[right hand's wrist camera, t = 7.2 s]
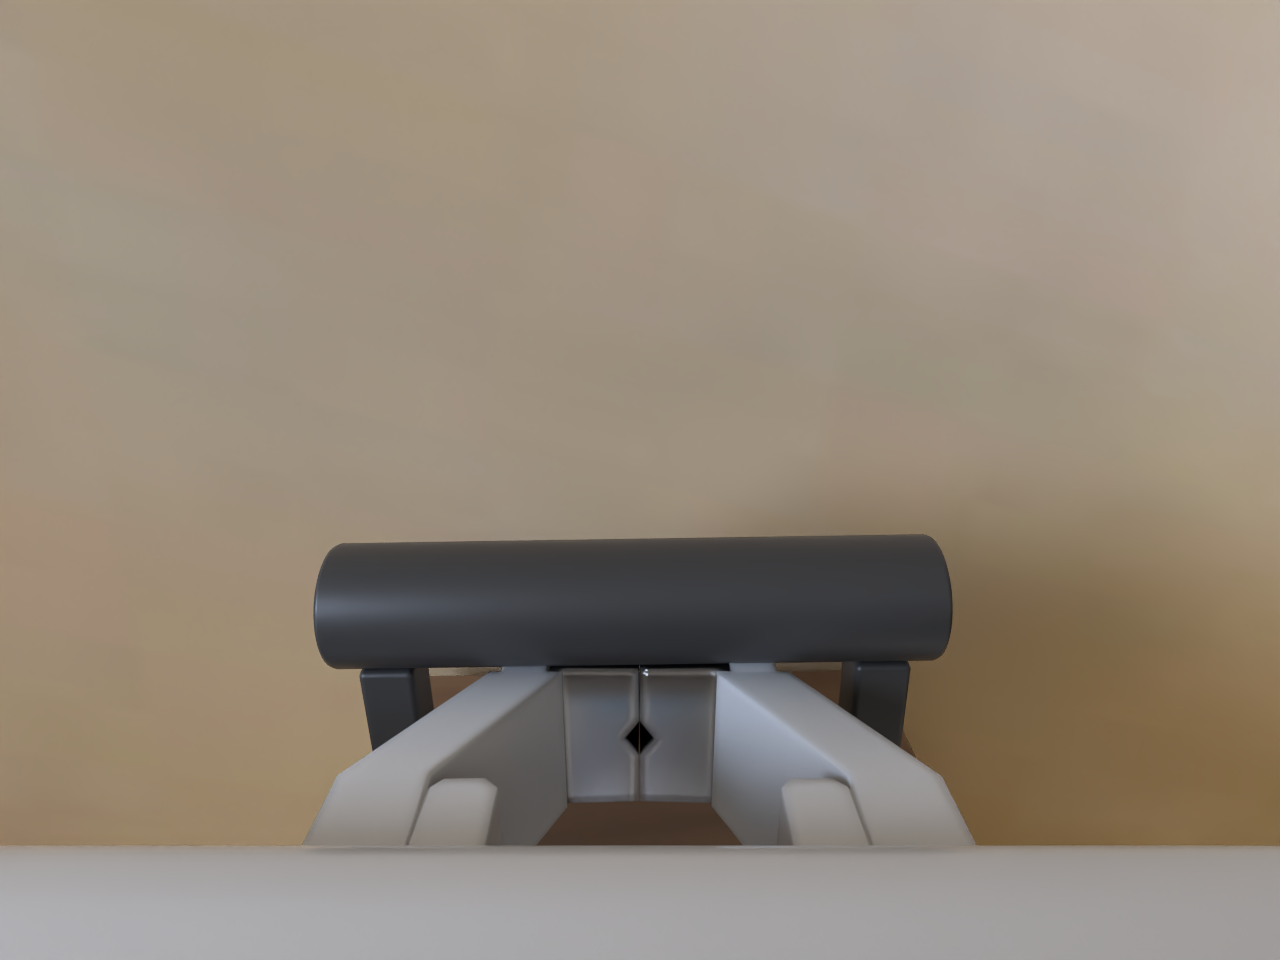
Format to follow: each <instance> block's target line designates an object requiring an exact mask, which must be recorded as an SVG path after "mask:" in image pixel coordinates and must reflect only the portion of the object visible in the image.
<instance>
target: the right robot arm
mask: <svg viewBox="0 0 1280 960" xmlns="http://www.w3.org/2000/svg"><path fill="white" fill-rule="evenodd" d="M623 801H639V665H582V666H513V667H502V671H500V672H489V673H487V674H486V675H484V676H483V677H481V678H480V679H478V680H477V681H476V682H474V683H473V684H471V685H470V686H468V687H467V688H465V689H464V690H462V691H461V692H459V693H458V694H456V695H455V696H453V697H452V698H450V699H449V700H448V701H446V702H445V703H443V704H442V705H440V706H439V707H437V708H436V709H434V710H433V711H431V712H430V713H428V714H427V715H425V716H424V717H422V718H421V719H420V720H418V721H417V722H415V723H414V724H412V725H411V726H409V727H408V728H406V729H405V730H403V731H402V732H400V733H399V734H397V735H396V736H394V737H393V738H392V739H390V740H389V741H387V742H386V743H384V744H383V745H381V746H380V747H378V748H377V749H375V750H374V751H372V752H371V753H369V754H368V755H366V756H365V757H364V758H362V759H361V760H359V761H358V762H356V763H355V764H353V765H352V766H350V767H349V768H347V769H346V770H344V771H343V772H341V773H340V774H338V775H337V777H336V779H335V781H334V783H333V785H332V787H331V789H330V791H329V793H328V795H327V797H326V799H325V801H324V803H323V805H322V807H321V809H320V811H319V812H318V814H317V816H316V818H315V820H314V822H313V824H312V826H311V828H310V830H309V832H308V834H307V836H306V838H305V840H304V842H303V844H302V845H6V846H0V960H1280V845H976V843H975V841H974V839H973V837H972V835H971V833H970V831H969V829H968V827H967V825H966V823H965V821H964V819H963V817H962V815H961V813H960V811H959V809H958V807H957V805H956V803H955V801H954V799H953V797H952V795H951V793H950V791H949V789H948V787H947V785H946V783H945V781H944V779H943V777H942V776H941V775H939V774H938V773H936V772H935V771H934V770H932V769H931V768H929V767H928V766H926V765H925V764H923V763H922V762H920V761H919V760H917V759H916V758H914V757H913V756H912V755H910V754H909V753H907V752H906V751H904V750H903V749H901V748H900V747H898V746H897V745H895V744H894V743H893V742H891V741H890V740H888V739H887V738H885V737H884V736H882V735H881V734H879V733H878V732H876V731H875V730H873V729H872V728H871V727H869V726H868V725H866V724H865V723H863V722H862V721H860V720H859V719H857V718H856V717H854V716H853V715H852V714H850V713H849V712H847V711H846V710H844V709H843V708H841V707H840V706H838V705H837V704H835V703H834V702H832V701H831V700H830V699H828V698H827V697H825V696H824V695H822V694H821V693H819V692H818V691H816V690H815V689H813V688H812V687H811V686H809V685H808V684H806V683H805V682H803V681H802V680H800V679H799V678H797V677H796V676H794V675H793V674H791V673H790V672H779V671H777V668H776V664H775V663H720V664H651V665H640V801H654V802H691V803H712V807H713V809H714V810H715V811H716V812H717V814H718V815H719V816H720V817H721V819H722V820H723V821H724V822H725V824H726V825H727V826H728V827H729V829H730V830H731V831H732V832H733V834H734V835H735V836H736V837H737V839H738V840H739V841H740V842H741V844H742V845H601V846H600V845H599V846H536V845H537V844H538V843H539V841H540V840H541V839H542V838H543V837H544V835H545V834H546V833H547V832H548V830H549V829H550V828H551V827H552V825H553V824H554V823H555V822H556V820H557V819H558V818H559V817H560V816H561V814H562V813H563V812H564V811H565V809H566V808H567V803H587V802H623Z"/></svg>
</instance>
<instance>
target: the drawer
mask: <svg viewBox="0 0 1280 960" xmlns="http://www.w3.org/2000/svg"><path fill="white" fill-rule="evenodd" d="M951 626H952V590H951V583H950V578H949V573H948V569H947V565H946V562H945V559H944V556H943V554H942V551H941V549H940V547H939V546H938V544H937V543H936V541H935V540H934V539H932V538H931V537H929V536H927V535H924V534H917V535H853V536H788V537H724V538H660V539H596V540H532V541H467V542H403V543H342V544H339V545H337V546H335V547H334V548H332V549H331V550H330V551H329V553H328V554H327V556H326V557H325V559H324V561H323V564H322V566H321V569H320V572H319V575H318V579H317V584H316V589H315V597H314V629H315V636H316V641H317V646H318V649H319V652H320V654H321V656H322V658H323V660H324V661H325V662H326V664H327V665H329V666H330V667H332V668H335V669H362V671H361V673H360V682H361V687H362V693H363V699H364V704H365V710H366V716H367V722H368V727H369V733H370V739H371V744H372V750H373V751H374V750H375V749H377V748H378V747H380V746H381V745H383V744H384V743H386V742H387V741H389V740H390V739H392V738H393V737H394V736H396V735H397V734H399V733H400V732H402V731H403V730H405V729H406V728H408V727H409V726H411V725H412V724H414V723H415V722H417V721H418V720H420V719H421V718H422V717H424V716H425V715H427V714H428V713H430V712H431V711H433V710H434V709H436V708H437V707H439V706H440V705H442V704H443V703H445V702H446V701H448V700H449V699H450V698H452V697H453V696H455V695H456V694H458V693H459V692H461V691H462V690H464V689H465V688H467V687H468V686H470V685H471V684H473V683H474V682H476V681H477V680H478V679H480V678H481V677H483V676H484V675H469V676H429V669H428V668H445V667H513V666H582V665H651V664H720V663H789V662H842V670H815V671H779V672H790V673H791V674H793V675H794V676H796V677H797V678H799V679H800V680H802V681H803V682H805V683H806V684H808V685H809V686H811V687H812V688H813V689H815V690H816V691H818V692H819V693H821V694H822V695H824V696H825V697H827V698H828V699H830V700H831V701H832V702H834V703H835V704H837V705H838V706H840V707H841V708H843V709H844V710H846V711H847V712H849V713H850V714H852V715H853V716H854V717H856V718H857V719H859V720H860V721H862V722H863V723H865V724H866V725H868V726H869V727H871V728H872V729H873V730H875V731H876V732H878V733H879V734H881V735H882V736H884V737H885V738H887V739H888V740H890V741H891V742H893V743H894V744H895V745H897V746H898V747H900V748H901V749H903V750H904V751H906V752H907V753H909V754H910V755H912V756H913V757H914V758H916V757H915V755H914V753H913V751H912V749H911V746H910V744H909V742H908V740H907V738H906V736H905V734H904V732H903V723H904V715H905V707H906V699H907V691H908V683H909V676H910V665H909V663H908V661H926V660H935V659H937V658H939V657H940V656H941V655H942V654H943V653H944V651H945V649H946V647H947V644H948V641H949V638H950V633H951ZM599 845H600V846H601V845H742V844H741V842H740V841H739V840H738V839H737V837H736V836H735V835H734V834H733V832H732V831H731V830H730V829H729V827H728V826H727V825H726V824H725V822H724V821H723V820H722V819H721V817H720V816H719V815H718V814H717V812H716V811H715V810H714V809H713V807H712V803H691V802H654V801H640V673H639V801H623V802H587V803H567V808H566V809H565V811H564V812H563V813H562V814H561V816H560V817H559V818H558V819H557V820H556V822H555V823H554V824H553V825H552V827H551V828H550V829H549V830H548V832H547V833H546V834H545V835H544V837H543V838H542V839H541V840H540V841H539V843H538V844H537V845H536V846H599Z"/></svg>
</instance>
